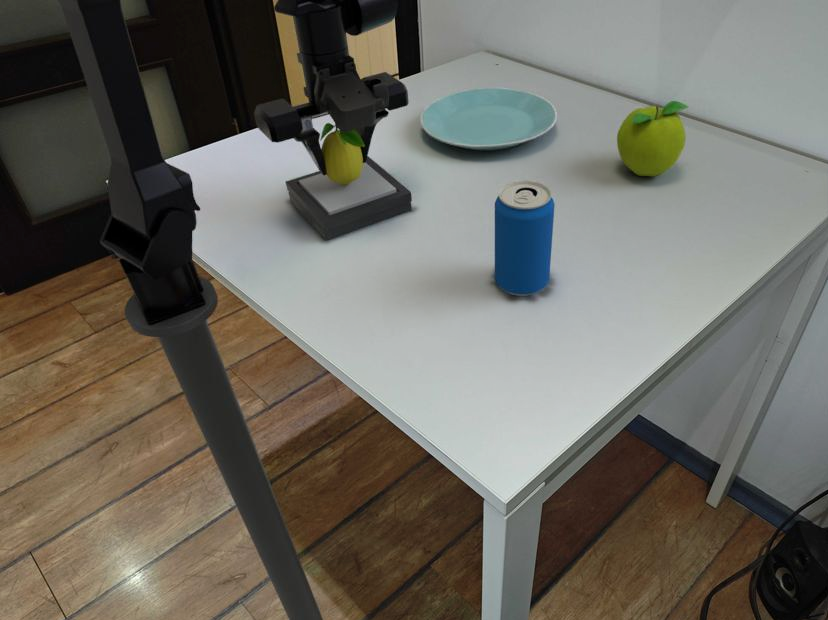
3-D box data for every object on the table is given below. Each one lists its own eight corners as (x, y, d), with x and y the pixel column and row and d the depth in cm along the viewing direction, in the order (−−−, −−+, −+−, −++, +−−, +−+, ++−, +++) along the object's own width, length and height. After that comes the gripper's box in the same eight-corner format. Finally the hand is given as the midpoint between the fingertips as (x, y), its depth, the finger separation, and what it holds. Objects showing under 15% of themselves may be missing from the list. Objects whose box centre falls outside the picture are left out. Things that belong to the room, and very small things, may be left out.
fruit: (691, 179, 96) (706, 112, 89) (634, 192, 94) (645, 124, 87) (656, 152, 102) (668, 87, 96) (602, 163, 100) (610, 97, 93)
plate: (397, 149, 105) (395, 132, 103) (453, 95, 120) (452, 79, 118) (530, 172, 99) (531, 155, 97) (572, 112, 113) (573, 95, 112)
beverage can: (554, 272, 81) (561, 183, 73) (541, 304, 76) (547, 213, 68) (503, 263, 83) (504, 175, 74) (487, 294, 78) (486, 204, 70)
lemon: (371, 194, 89) (361, 122, 82) (327, 199, 88) (313, 127, 81) (366, 170, 94) (356, 100, 87) (324, 175, 93) (311, 105, 86)
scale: (327, 242, 87) (323, 222, 85) (289, 200, 95) (284, 181, 93) (413, 211, 92) (411, 191, 90) (370, 173, 100) (367, 155, 98)
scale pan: (330, 222, 87) (328, 211, 86) (300, 190, 93) (298, 180, 92) (397, 198, 91) (396, 188, 90) (364, 169, 97) (363, 160, 96)
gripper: (273, 87, 70) (302, 216, 81) (426, 49, 77) (434, 171, 88) (238, 56, 77) (268, 179, 88) (381, 24, 84) (393, 140, 95)
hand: (343, 168), depth 89 cm, fingers closed on lemon, 5 cm apart
